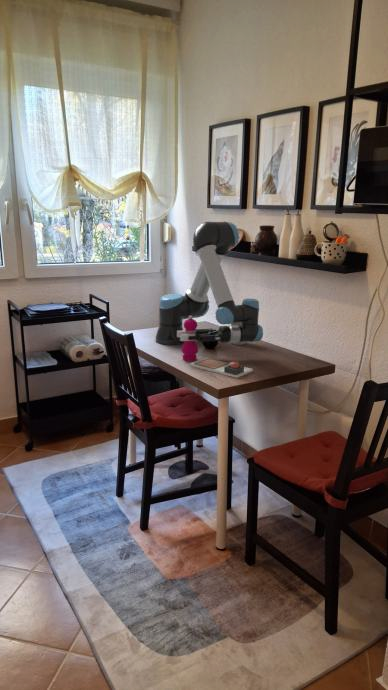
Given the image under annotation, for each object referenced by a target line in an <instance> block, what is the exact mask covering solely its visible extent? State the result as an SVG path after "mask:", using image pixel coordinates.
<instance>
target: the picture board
mask: <svg viewBox="0 0 388 690" xmlns="http://www.w3.org/2000/svg"><path fill="white" fill-rule="evenodd" d="M189 364H190V365H189V366H190V367H195V368H197V369H202V370H204V371H209V372H213V373H217V374H221V375H223V376H226V377H227V376H228V377H232V378H235V379H237V378H240V377H242V376H245V375H246V374H249V373H252V372H253V371H254V370H253V368H250V367H246V366H243V365H239V368H237V369H233V368H230V362H227V361H222V360H218V359H215V358H210V357H205V358H202V359H198V360H195V361H192V362H190V363H189Z"/></svg>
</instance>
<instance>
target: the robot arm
mask: <svg viewBox="0 0 388 690" xmlns="http://www.w3.org/2000/svg"><path fill="white" fill-rule="evenodd" d="M192 240H193V241H192V245H193V249H194V252H195V255H196V256H198V257H199V259H200V261H201V262H200V265H199V266H198V270H197V272H196V274H195V278H194V280H193V282H192V285H191V286H190V287H189V288H187V289H186V292H185V294H184V295H183V294H182V293H181V294H180V293H168V294H165V295H163V296H161V297H160V299H159V304H158V307H159V309H158V310H159V312H158V313H159V314H158V315H159V316H158V321H159V323H158V325H159V326H158V329H157V332H156V335H155V342H156V343H158V344H162V345H171V346H172V345H173V346H175V345H176V346H177V345H181V344H182V345H183V344H184V342H185V341H195V342H199V343H202V342H203V343H204V342H205V343H206V342H220V344H221V343H222V344H223V343H224V344H226V343H230V342H233V343H236V342H246V343H247V342H249V343H253V342H260V341H262V339H263V337H264V328H263V326H262V325H260V324H259V313H260V301H259V300H258V299H256V298H245V299H243V300H242V301H241V302H242V303H241V304H235V301H234V298H233V295H232V292H231V290H230V287H229V284H228V282H227V279H226V277H225V274H224V271H223V269H222V268H223V267H222V265H221V262H222V260H223V257H224V256H227V255H228V253H229V252H230V250H231V248H234V247H236V246H237V245H238V243H239V240H240V235H239V230H238V227H237V225H235V224H234V222H233V223H232V222H229V221H228V222H227V221H205V222H201V223H200V224H199V225H198V226H197V227H196V229H195V230H194V233H193V237H192ZM210 289H211V292H212V295H213V298H214V300H215V304H216V305H217V309H216V310H215V320H216V321H217V323H219V325H221V326H219V329H218V330H217V329H214V328H212V327H211V328H196V329H195V330H196V333H195V334H186V333H185V330H184V326H183V320H187V319H189V316H192V317H193V318H192V319H197V318H201V317H203V316H205V315H206V314H207V313H208V311H209V309H210V301H209V295H208V292H209V290H210ZM236 322H241V323H242V324H241V325H240V326H238V325H236V326H231V323H236Z"/></svg>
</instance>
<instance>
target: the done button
mask: <svg viewBox="0 0 388 690" xmlns="http://www.w3.org/2000/svg"><path fill="white" fill-rule="evenodd" d="M229 363H230V368H233V369H237V368H239V366H240V363H239V362H238V361H230V362H229Z"/></svg>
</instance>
